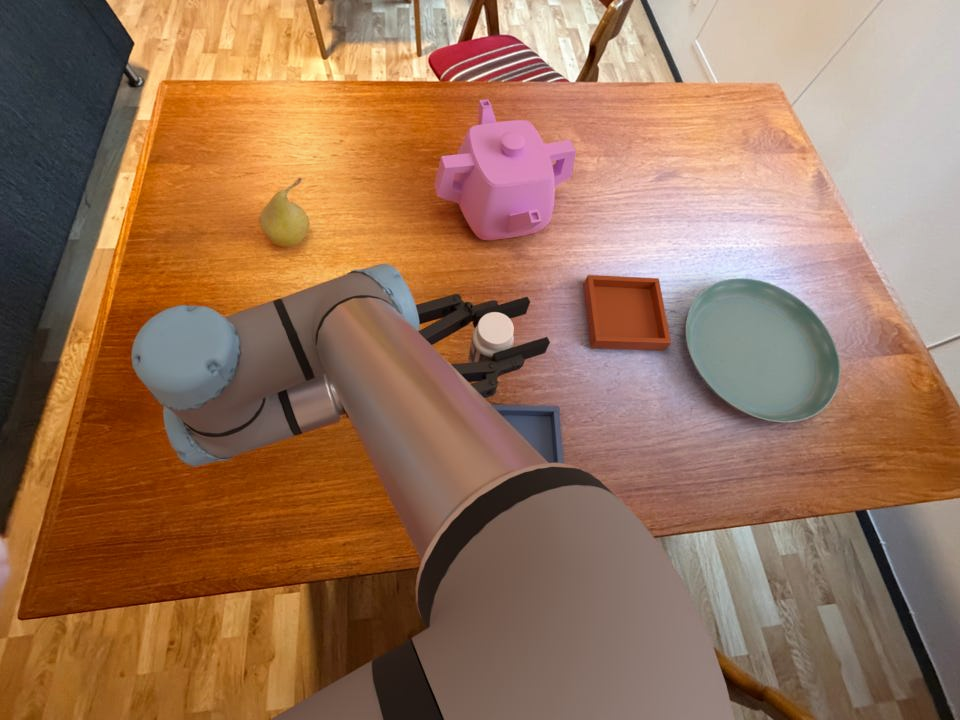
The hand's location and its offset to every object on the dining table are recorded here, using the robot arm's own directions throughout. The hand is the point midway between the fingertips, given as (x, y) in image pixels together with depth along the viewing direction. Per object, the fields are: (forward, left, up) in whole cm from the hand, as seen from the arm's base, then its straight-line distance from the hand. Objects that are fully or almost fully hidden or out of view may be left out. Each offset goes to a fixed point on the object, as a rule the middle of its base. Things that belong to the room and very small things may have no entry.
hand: (535, 325), depth 63 cm
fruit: (+24, +34, -18) cm, 45 cm away
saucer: (+6, -38, -18) cm, 43 cm away
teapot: (+32, +1, -18) cm, 37 cm away
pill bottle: (-2, +5, -6) cm, 8 cm away
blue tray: (-10, 0, -18) cm, 20 cm away
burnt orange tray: (+12, -18, -18) cm, 28 cm away
